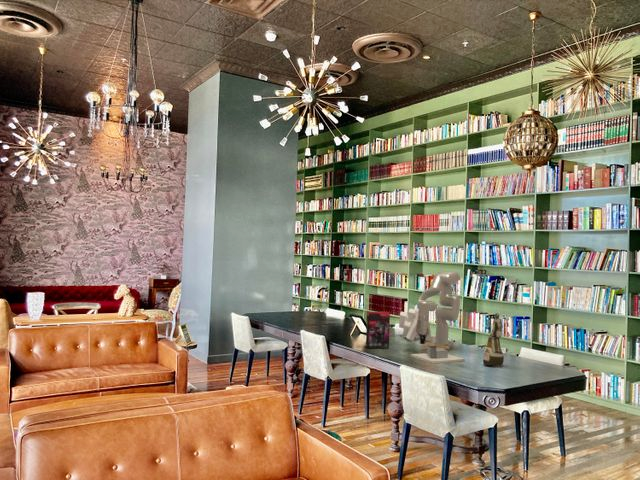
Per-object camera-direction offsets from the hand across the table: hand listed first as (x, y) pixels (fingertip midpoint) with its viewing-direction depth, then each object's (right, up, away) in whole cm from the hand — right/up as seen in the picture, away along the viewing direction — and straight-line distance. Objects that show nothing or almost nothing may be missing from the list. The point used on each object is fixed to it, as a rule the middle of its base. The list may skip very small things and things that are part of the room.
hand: (422, 343), depth 365 cm
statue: (+41, -9, -29) cm, 51 cm away
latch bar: (+8, 0, -8) cm, 11 cm away
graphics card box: (-31, -7, +16) cm, 36 cm away
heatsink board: (+7, -7, -15) cm, 18 cm away
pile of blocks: (+6, -10, +66) cm, 67 cm away
